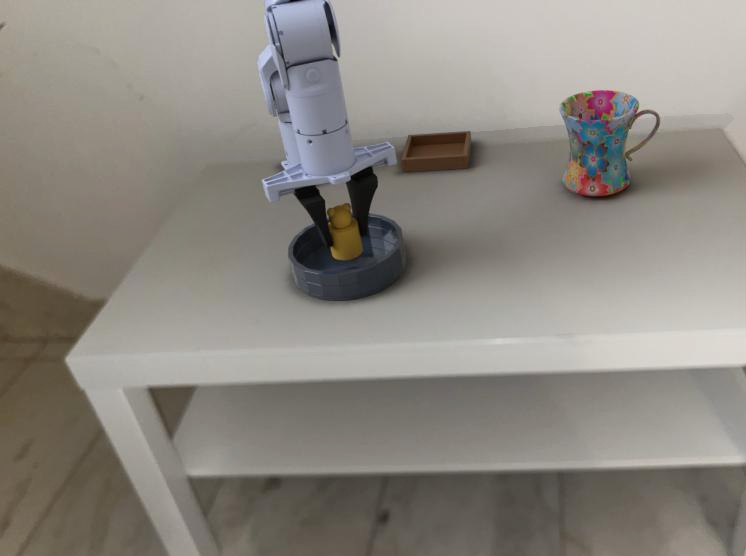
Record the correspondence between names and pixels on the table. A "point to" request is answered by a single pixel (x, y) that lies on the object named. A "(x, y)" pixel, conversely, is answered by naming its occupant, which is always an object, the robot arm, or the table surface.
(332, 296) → the bowl
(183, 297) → the table surface
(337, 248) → the toy
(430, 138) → the tray
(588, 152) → the mug
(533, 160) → the table surface
